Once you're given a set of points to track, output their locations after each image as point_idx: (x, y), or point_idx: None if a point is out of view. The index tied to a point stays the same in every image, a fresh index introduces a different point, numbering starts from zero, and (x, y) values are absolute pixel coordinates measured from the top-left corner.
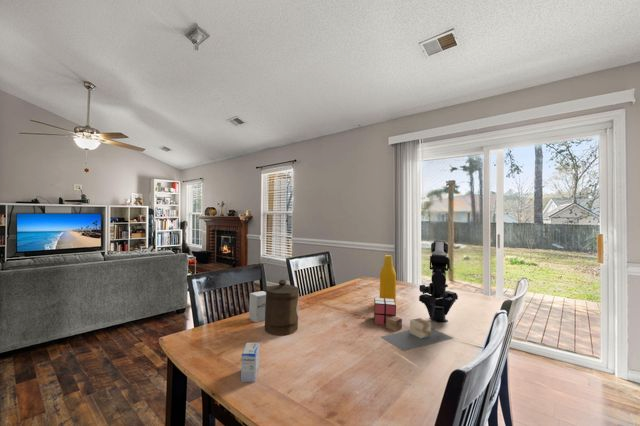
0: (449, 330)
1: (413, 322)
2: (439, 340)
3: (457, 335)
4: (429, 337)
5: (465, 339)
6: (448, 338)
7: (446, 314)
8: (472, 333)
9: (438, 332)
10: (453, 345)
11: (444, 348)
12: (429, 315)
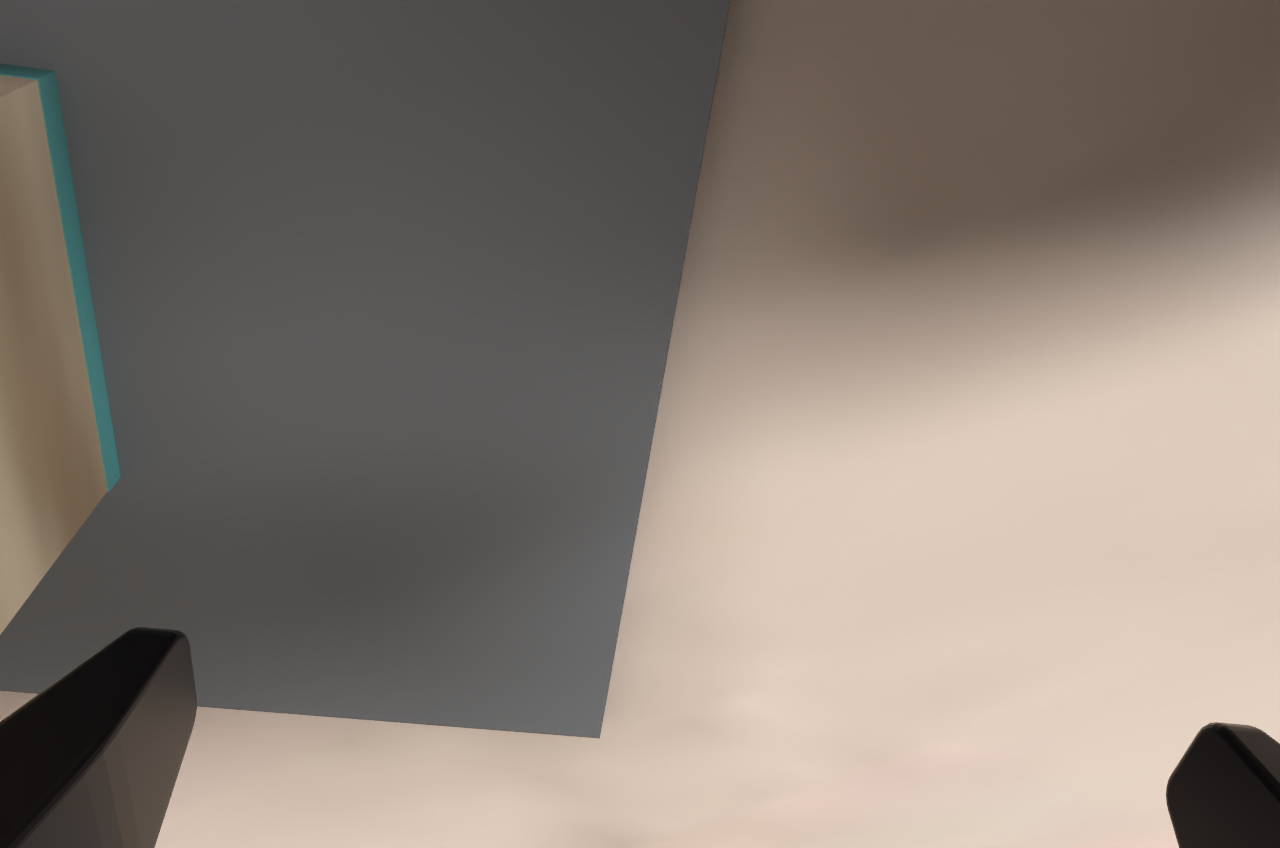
0: (1040, 448)
1: None
2: None
3: (864, 674)
4: None
5: (790, 815)
6: (463, 706)
7: (1185, 826)
8: None
9: (569, 427)
10: (315, 834)
11: None
12: (55, 700)
